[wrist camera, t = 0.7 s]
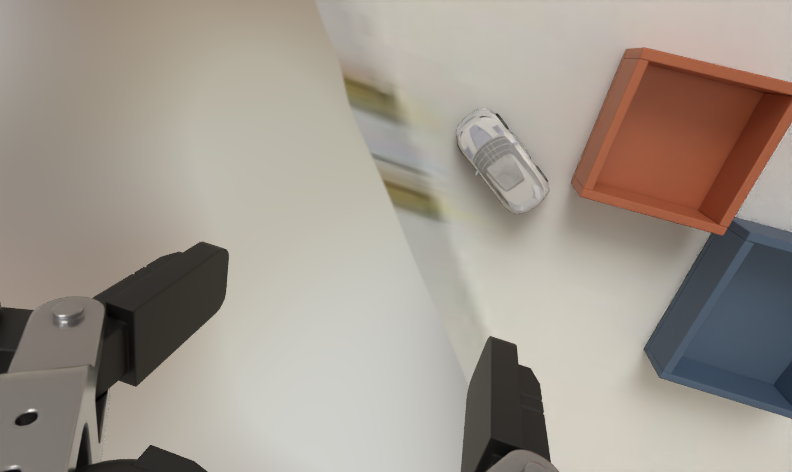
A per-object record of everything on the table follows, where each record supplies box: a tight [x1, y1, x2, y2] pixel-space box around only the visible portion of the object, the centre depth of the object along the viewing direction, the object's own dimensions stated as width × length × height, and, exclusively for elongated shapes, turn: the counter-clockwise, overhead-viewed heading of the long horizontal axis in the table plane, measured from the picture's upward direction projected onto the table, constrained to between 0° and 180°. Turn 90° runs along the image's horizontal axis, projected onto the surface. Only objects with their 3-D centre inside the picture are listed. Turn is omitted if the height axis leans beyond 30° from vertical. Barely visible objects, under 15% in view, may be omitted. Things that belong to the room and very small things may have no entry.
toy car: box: [456, 108, 550, 214], centre depth 30 cm, size 4×8×3 cm, turn 41°
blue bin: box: [644, 217, 792, 418], centre depth 31 cm, size 12×10×4 cm
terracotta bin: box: [571, 48, 792, 235], centre depth 27 cm, size 9×9×4 cm
